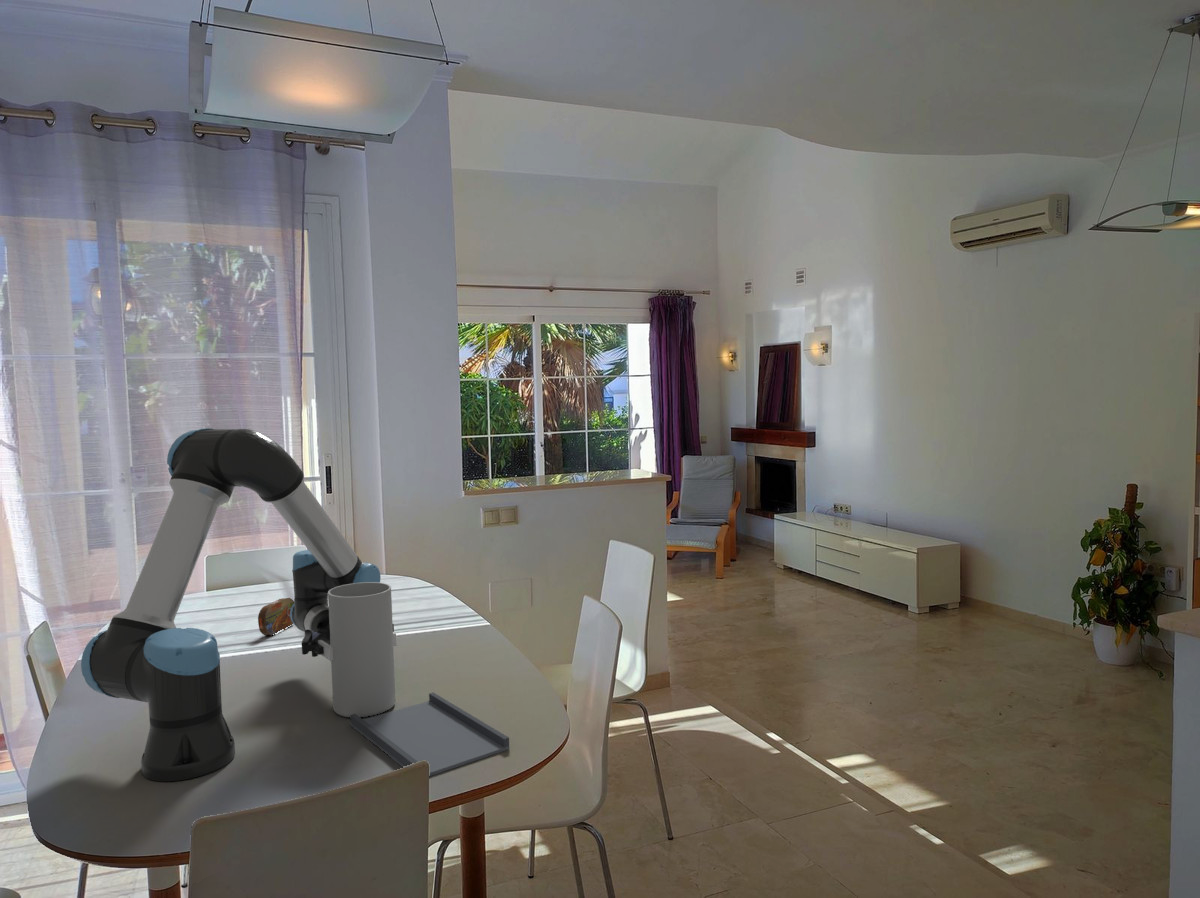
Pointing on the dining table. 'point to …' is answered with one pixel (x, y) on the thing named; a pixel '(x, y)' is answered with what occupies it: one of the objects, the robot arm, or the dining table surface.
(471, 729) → the mat
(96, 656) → the robot arm
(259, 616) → the tin
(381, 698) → the cylinder vase
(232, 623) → the dining table surface
